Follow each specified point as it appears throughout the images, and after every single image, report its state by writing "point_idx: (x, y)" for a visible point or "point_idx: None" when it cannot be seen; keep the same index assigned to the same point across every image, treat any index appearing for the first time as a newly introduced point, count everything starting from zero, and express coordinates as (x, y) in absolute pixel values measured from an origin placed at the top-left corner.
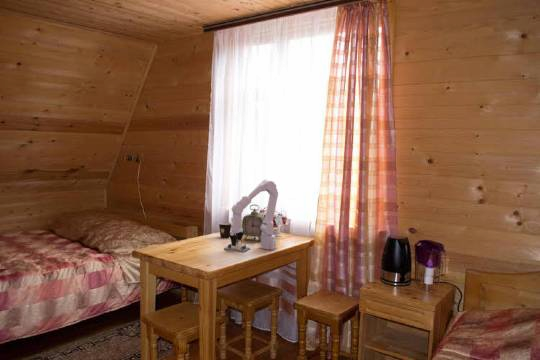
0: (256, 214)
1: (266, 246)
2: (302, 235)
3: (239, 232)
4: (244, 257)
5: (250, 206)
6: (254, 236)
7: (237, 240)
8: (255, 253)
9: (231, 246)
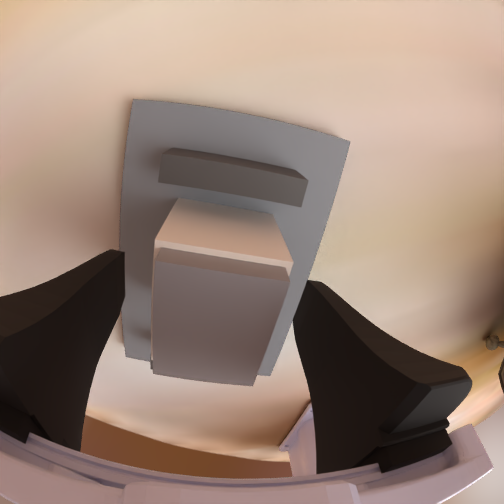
0: None
1: (299, 444)
2: (499, 404)
3: (365, 461)
4: None
5: None
6: None
7: (194, 355)
8: (149, 405)
9: (173, 209)
